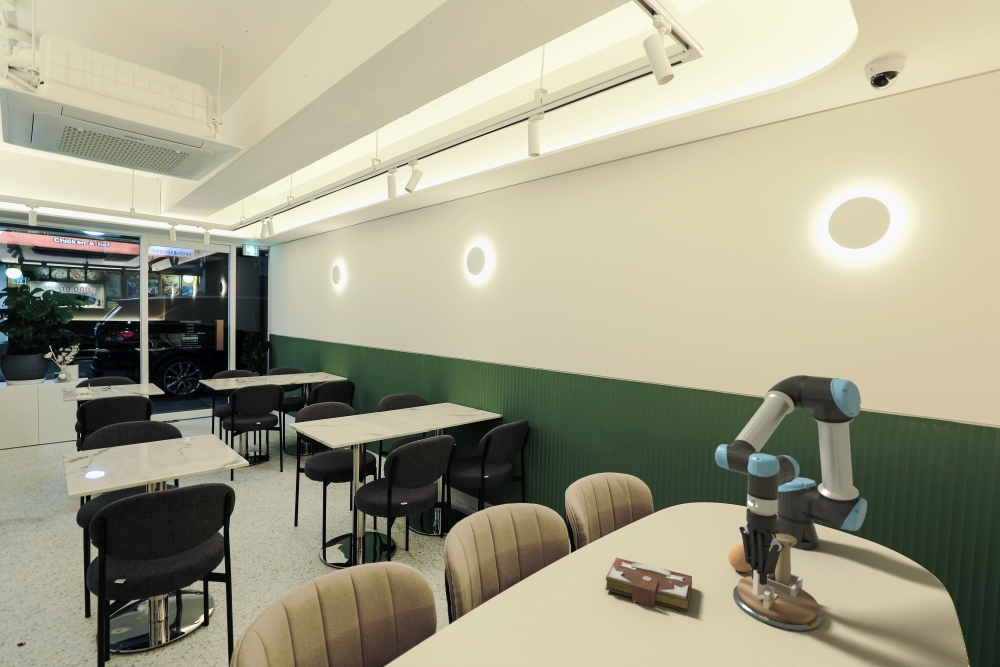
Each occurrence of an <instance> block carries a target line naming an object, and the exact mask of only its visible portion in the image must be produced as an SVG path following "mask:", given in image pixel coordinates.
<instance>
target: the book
mask: <svg viewBox="0 0 1000 667" xmlns="http://www.w3.org/2000/svg"><path fill="white" fill-rule="evenodd" d="M605 581H606V587H605V591H609V592H612V593H615V594H620V595H623V596H628V597H631V602H632V601H635V602H634V603H636V602H638V603H637V604H639V603H642V604H641V605H643V604H645V605H644V606H646V605H648V606H647V607H650V606H652V607H651V608H653V607H656V605H658V606H659V605H660V606H663V607H667V608H671V609H674V610H678V611H682V612H685V613H688V610H689V605H690V604H689V603H690V598H691V594H692V593H691V592H692V586H693V576H692V575H689V574H685V573H680V572H676V571H672V570H669V569H668V570H667V569H665V568H659V567H656V566H652V565H647V564H645V563H644V564H643V563H640V562H636V561H631V560H627V559H623V558H619V557H615V559H614V562H613V563H612V564H611V566H610V569H609V571H608V572H607V575H606V577H605Z"/></svg>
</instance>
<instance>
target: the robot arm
mask: <svg viewBox="0 0 1000 667" xmlns="http://www.w3.org/2000/svg"><path fill="white" fill-rule="evenodd" d="M860 394H861V393H860V390H859V389H858V386H857V385H856V383H854V382H853V381H851V380H848V379H843V378H839V377H834V378H833V377H826V376H812V375H806V374H804V375H803V374H800V375H799V374H798V375H793V376H789V377H786V378H784V379H783V380H780V381H779V382H777V383H776V384H774V385H773V386H772V387H771V388H769V390H768V391H767V392H766V393H765V394H764V397H763V398H764V401H763V402H762V404H761V405H760V406H759V408H758V409H757V410H756V412H755V413H753V414H754V415H753V416H752V417H751V419H749V421H748V422H747V423H746V424H745V426H744V427H743V429H742V430H741V431H740V433H739V434H738V435H737V436H736V438H734V440H733V441H732V442H731V444H724V443H722V444H720V445H718V446H717V448H716V450H715V453H714V458H715V462H716V465H717V466H719V467H720V468H721V469H722V468H723V469H725V470H728V471H731V472H736V473H740V474H743V475H747V495H746V496H747V497H746V499H747V500H746V507H747V508H746V516H745V518H746V519H745V520H746V525H745V526H744V525H743V526H740V527H739V532H740V533H741V537H742V538H741V539H742V543H743V544H742V545H743V546H744V553H745V560H746V563H747V564H750V565H751V576H752V579H753V593H754V594H755V595H757V596H758V595H763V594H764V592H765V585H766V584H767V575H768V574H773V573H774V572H775V569H776V565H777V562H778V558H779V555H780V551H781V550H782V549H783V548H784V545H783V544H779V542H778V541H777V540H776V534H787V535H791V536H793V537H795V538H796V539H797V543H796V544H795V545H794V546H791V548H792V549H796V550H804V551H805V550H807V551H810V550H811V551H812V550H816V549H818V548H819V546H820V539H819V536H818V532H817V530H816V526H815V521H818V522H820V523H825V524H828V525H831V526H834V527H837V528H840V529H841V530H845V531H846V530H848V531H851V532H856V531H858V530H860V528H861V527H862V525H863V523H864V520H865V518H866V514H867V510H868V502H867V500H866V499H865V498H863V497H860V493H859V490H858V488H856V486H854V485H853V484H854V482H853V469H852V466H853V465H852V452H851V439H850V438H851V437H850V423H851V422H853V421H854V420H855V417H857V416H858V415H859V413H860V411H861V405H862V398H861V395H860ZM796 409H798V410H799V409H801V410H802V409H803V410H806V411H811V418H812V419H813V420H814V421H815V422H816V423H817V431H818V444H819V456H820V469H821V481H822V482H821V483H819V485H818V486H817V482H816V481H815V480H814V479H810V478H807V477H800V476H799V475H800V471H801V469H800V465H799V463H798V462H797V459H795V458H793V457H792V456H789V455H786V454H779V455H777V456H776V455H772V454H768V453H763V452H761V450H762V448H763V447H764V446H765V444H766V443H767V442H768V440H769V439H770V437H771V436H772V435H773V434H774V432H775V430H776V429H777V428H778V426H779V425H780V423H782V421H783V419H784V418H785V417H786V415H789V414H791V413H792V412H794V410H796Z"/></svg>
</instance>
